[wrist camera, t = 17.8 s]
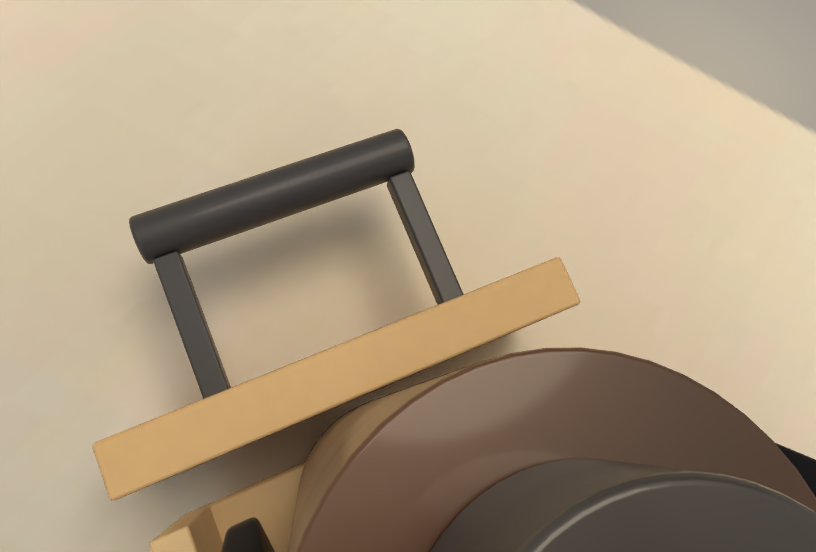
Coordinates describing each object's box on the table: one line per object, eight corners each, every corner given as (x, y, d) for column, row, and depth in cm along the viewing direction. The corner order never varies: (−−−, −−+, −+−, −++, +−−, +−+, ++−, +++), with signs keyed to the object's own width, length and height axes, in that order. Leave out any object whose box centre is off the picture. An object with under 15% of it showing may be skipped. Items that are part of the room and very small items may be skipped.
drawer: (80, 267, 17) (16, 224, 14) (445, 142, 20) (478, 76, 16) (330, 985, 15) (338, 1183, 11) (713, 746, 17) (830, 840, 13)
